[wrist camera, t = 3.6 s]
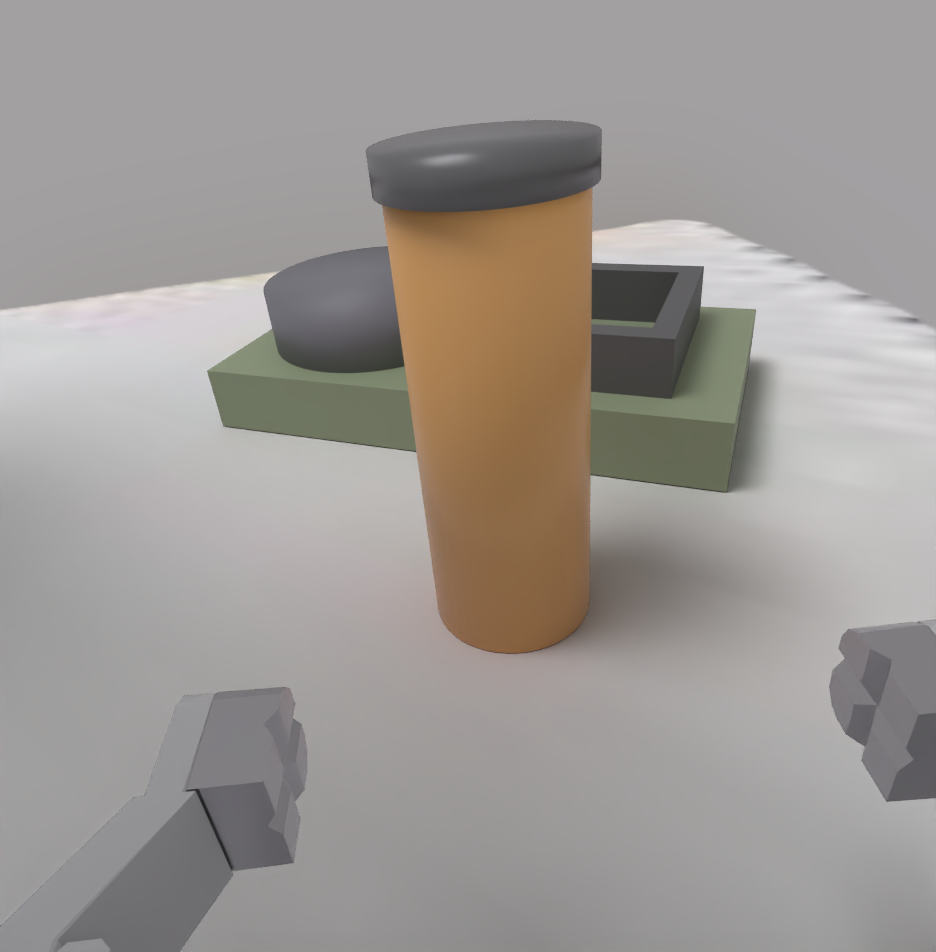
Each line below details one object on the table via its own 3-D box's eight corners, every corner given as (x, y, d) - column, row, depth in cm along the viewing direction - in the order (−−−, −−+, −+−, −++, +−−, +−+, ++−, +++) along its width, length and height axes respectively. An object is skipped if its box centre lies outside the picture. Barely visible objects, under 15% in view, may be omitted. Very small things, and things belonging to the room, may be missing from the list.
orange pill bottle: (405, 636, 23) (321, 163, 16) (467, 536, 27) (424, 124, 20) (571, 675, 21) (566, 157, 14) (611, 561, 26) (623, 116, 18)
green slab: (223, 425, 37) (189, 310, 34) (342, 336, 46) (324, 238, 43) (726, 492, 28) (744, 346, 25) (748, 365, 38) (764, 247, 34)
